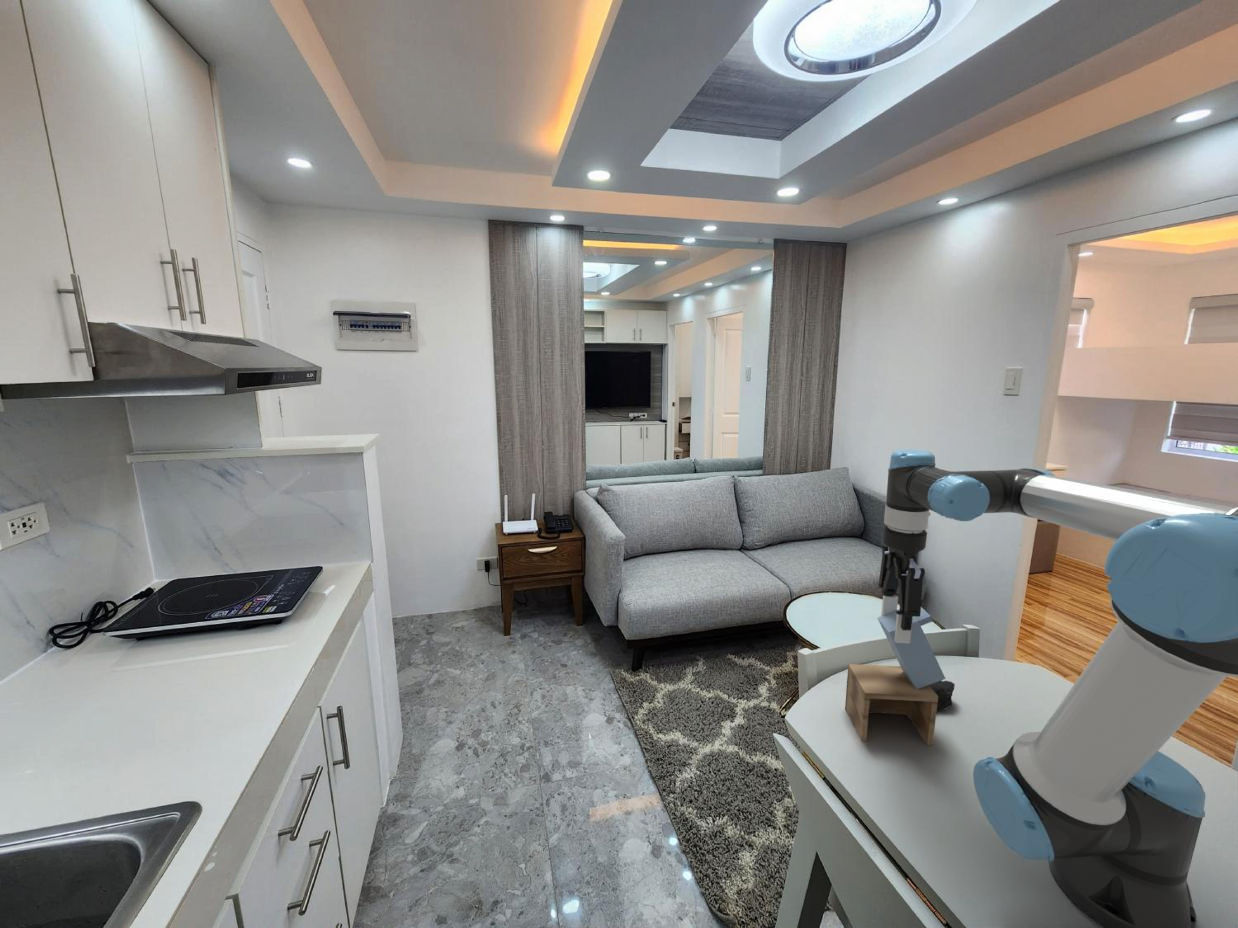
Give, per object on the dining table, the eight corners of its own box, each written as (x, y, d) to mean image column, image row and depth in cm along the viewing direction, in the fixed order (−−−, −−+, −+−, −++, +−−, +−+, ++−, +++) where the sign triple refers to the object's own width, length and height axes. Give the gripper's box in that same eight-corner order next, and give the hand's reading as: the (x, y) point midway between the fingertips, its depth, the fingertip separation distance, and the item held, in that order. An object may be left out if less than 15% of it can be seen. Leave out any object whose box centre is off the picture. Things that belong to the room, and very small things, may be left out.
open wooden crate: (932, 744, 101) (938, 696, 99) (861, 740, 103) (865, 692, 101) (909, 711, 111) (914, 666, 109) (845, 708, 112) (848, 663, 110)
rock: (949, 725, 107) (952, 701, 105) (902, 709, 112) (904, 686, 111) (952, 701, 114) (955, 678, 113) (908, 686, 120) (910, 664, 119)
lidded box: (889, 632, 100) (930, 616, 98) (877, 617, 106) (916, 602, 104) (916, 689, 101) (957, 674, 100) (903, 671, 107) (942, 657, 106)
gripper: (951, 544, 88) (937, 660, 93) (903, 513, 107) (893, 611, 112) (907, 544, 89) (895, 658, 94) (867, 513, 108) (859, 610, 112)
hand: (894, 632), depth 103 cm, fingers open, 6 cm apart
